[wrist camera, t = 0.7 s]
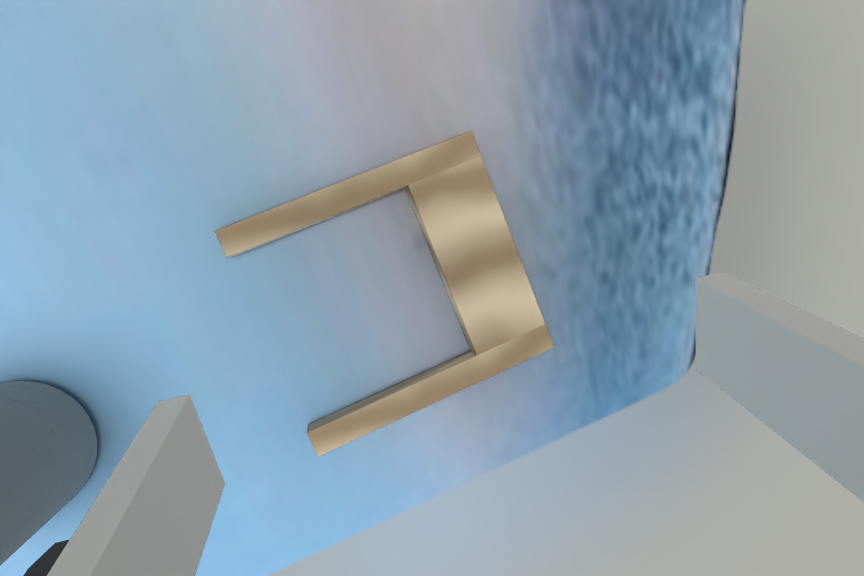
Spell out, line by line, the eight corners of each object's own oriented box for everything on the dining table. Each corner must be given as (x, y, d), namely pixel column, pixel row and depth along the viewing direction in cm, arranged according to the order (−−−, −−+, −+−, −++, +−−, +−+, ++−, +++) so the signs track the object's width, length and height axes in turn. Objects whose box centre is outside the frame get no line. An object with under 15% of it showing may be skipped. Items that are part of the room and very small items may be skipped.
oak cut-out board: (220, 232, 39) (214, 231, 37) (464, 136, 42) (471, 130, 40) (318, 447, 42) (317, 456, 40) (544, 342, 45) (554, 347, 43)
